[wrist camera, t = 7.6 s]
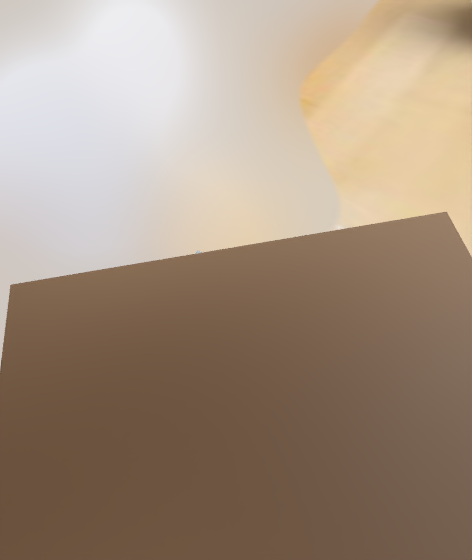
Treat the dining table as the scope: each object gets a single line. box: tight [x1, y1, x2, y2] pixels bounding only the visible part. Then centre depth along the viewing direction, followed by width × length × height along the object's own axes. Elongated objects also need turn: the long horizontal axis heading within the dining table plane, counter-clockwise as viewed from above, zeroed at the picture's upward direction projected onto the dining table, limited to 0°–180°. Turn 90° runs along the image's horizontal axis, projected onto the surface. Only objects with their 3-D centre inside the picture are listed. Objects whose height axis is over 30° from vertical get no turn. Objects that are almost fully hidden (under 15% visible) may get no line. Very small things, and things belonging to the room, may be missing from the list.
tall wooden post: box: [0, 212, 472, 560], centre depth 9 cm, size 4×4×14 cm
